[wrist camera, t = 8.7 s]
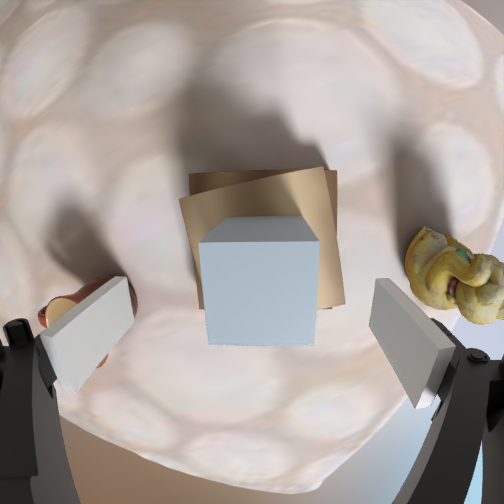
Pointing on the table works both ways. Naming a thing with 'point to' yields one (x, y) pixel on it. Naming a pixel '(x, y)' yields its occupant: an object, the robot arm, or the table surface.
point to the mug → (67, 302)
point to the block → (260, 281)
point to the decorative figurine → (455, 277)
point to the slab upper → (274, 204)
